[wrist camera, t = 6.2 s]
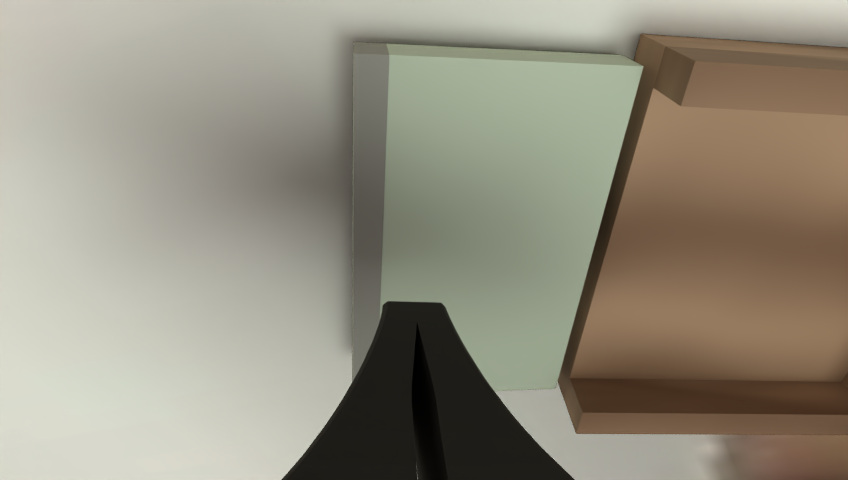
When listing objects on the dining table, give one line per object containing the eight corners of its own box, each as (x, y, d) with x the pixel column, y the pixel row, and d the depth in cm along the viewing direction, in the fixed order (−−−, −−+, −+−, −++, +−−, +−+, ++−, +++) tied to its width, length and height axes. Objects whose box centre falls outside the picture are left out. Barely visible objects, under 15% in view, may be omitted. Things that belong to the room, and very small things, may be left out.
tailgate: (555, 388, 19) (352, 397, 18) (544, 363, 20) (352, 370, 19) (643, 67, 13) (354, 53, 12) (622, 54, 14) (353, 41, 13)
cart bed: (831, 372, 21) (927, 473, 18) (552, 368, 20) (590, 473, 17) (1027, 59, 15) (1241, 110, 11) (640, 33, 14) (732, 79, 10)
